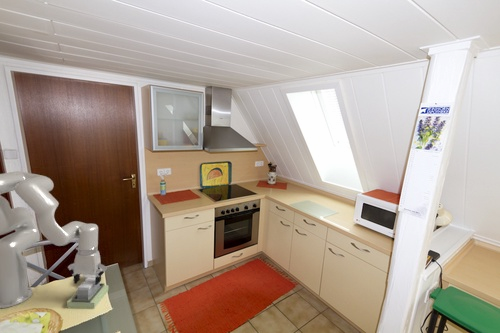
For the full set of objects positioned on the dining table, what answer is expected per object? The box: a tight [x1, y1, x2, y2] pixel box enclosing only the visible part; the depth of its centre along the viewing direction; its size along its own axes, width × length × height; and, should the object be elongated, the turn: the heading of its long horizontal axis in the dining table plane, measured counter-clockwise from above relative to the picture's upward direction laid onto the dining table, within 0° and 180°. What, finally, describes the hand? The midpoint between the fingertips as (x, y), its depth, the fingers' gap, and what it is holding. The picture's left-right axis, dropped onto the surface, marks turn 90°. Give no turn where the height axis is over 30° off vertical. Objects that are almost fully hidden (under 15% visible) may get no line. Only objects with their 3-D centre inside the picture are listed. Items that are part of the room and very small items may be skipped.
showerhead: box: [82, 268, 104, 280], centre depth 121 cm, size 9×7×10 cm
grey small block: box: [76, 278, 101, 300], centre depth 109 cm, size 5×9×6 cm, turn 3°
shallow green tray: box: [66, 282, 109, 309], centre depth 110 cm, size 12×12×4 cm
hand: (87, 282), depth 108 cm, fingers open, 9 cm apart
